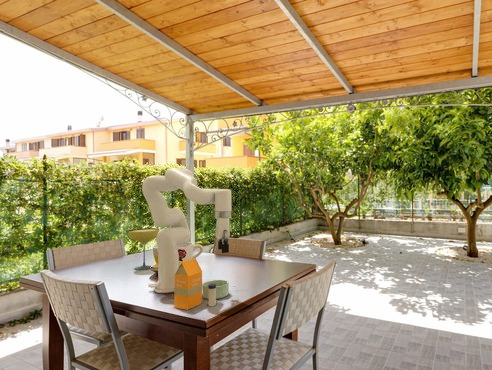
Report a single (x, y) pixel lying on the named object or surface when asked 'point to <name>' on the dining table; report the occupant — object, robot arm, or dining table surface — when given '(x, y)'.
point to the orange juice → (188, 285)
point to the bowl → (217, 288)
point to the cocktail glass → (143, 240)
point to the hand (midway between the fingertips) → (223, 250)
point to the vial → (212, 294)
